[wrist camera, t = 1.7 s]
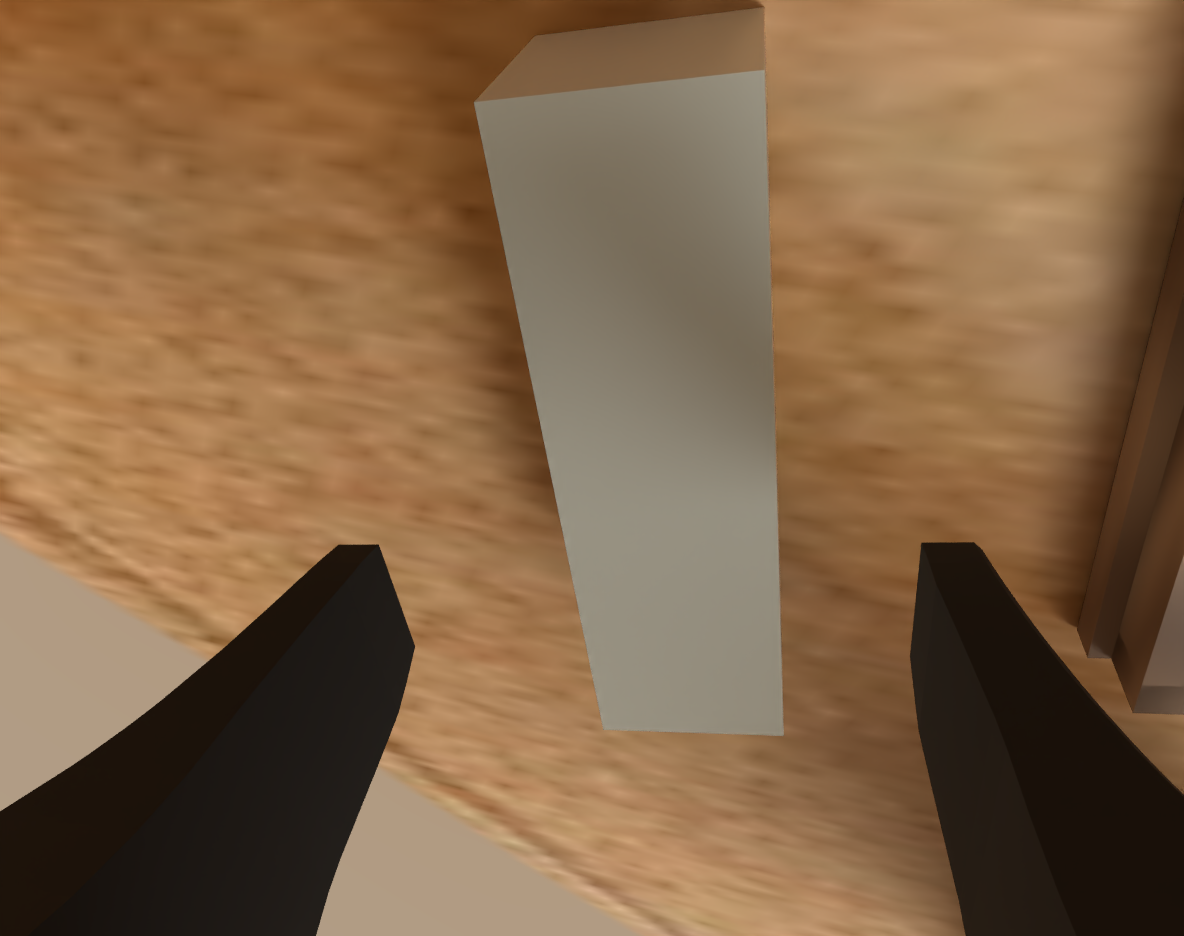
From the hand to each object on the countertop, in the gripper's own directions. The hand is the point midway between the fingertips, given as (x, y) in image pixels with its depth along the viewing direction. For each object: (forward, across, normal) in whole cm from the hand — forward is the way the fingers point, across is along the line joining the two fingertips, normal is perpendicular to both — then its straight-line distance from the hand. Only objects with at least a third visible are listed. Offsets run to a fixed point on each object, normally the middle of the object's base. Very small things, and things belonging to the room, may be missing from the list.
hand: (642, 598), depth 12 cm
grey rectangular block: (+6, 0, 0) cm, 7 cm away
